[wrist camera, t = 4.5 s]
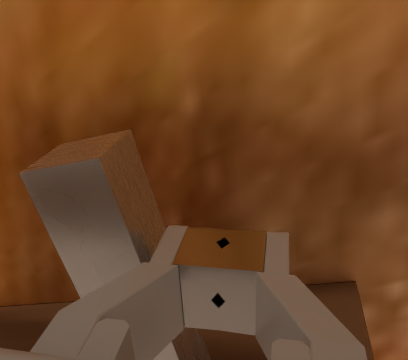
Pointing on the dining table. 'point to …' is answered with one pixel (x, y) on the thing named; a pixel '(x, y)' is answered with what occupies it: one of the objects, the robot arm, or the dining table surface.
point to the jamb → (214, 339)
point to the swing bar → (102, 217)
